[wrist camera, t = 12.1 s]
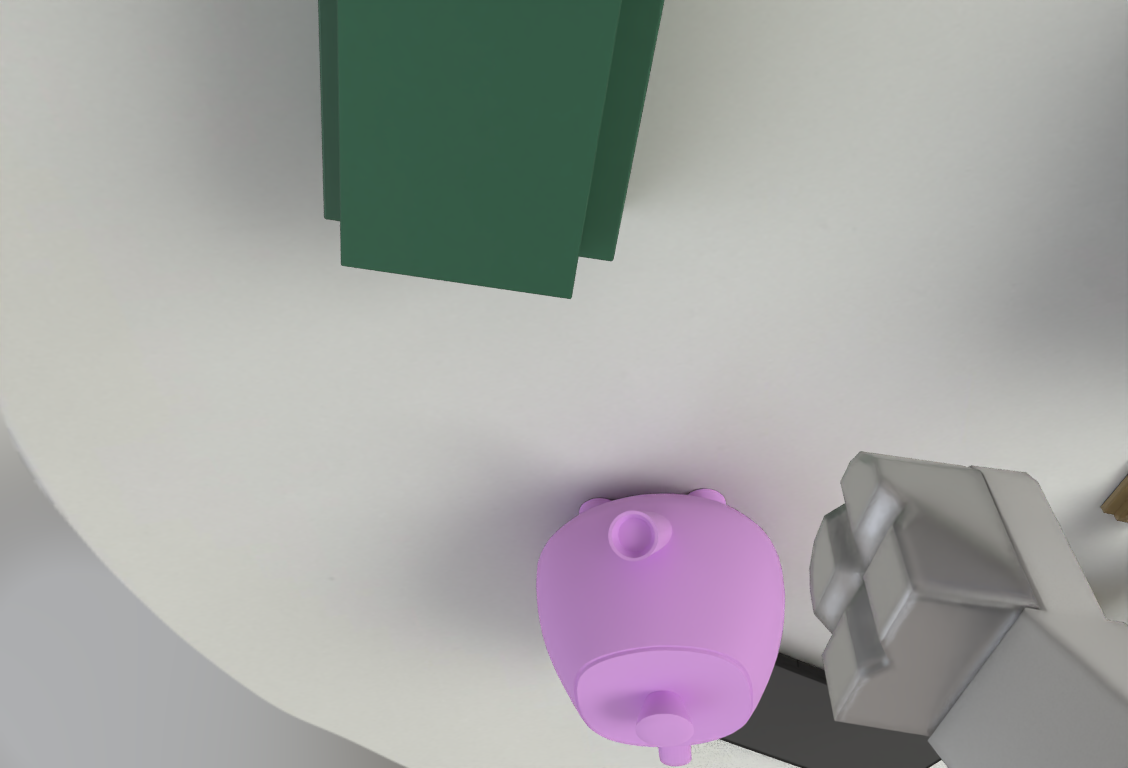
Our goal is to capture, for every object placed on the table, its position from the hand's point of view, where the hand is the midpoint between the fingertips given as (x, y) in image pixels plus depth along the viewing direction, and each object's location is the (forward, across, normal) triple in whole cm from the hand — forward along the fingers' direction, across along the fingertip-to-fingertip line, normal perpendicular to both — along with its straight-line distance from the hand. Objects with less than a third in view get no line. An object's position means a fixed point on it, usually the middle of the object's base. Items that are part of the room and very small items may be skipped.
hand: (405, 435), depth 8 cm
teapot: (+22, -8, +24) cm, 33 cm away
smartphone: (+22, -19, +36) cm, 46 cm away
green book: (+18, +1, +2) cm, 18 cm away
